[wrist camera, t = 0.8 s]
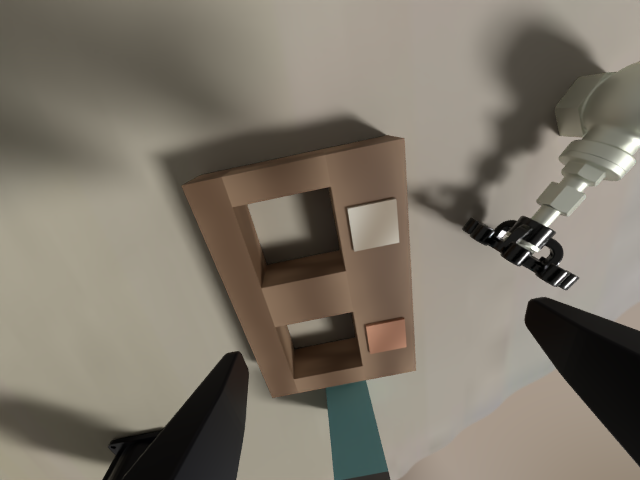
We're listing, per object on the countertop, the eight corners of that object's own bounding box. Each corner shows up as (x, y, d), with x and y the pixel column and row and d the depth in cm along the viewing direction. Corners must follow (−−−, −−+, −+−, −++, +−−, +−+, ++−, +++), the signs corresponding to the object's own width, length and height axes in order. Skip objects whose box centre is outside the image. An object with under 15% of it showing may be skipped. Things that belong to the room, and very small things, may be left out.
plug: (332, 410, 27) (343, 514, 20) (325, 385, 26) (335, 490, 18) (369, 403, 27) (394, 505, 20) (365, 378, 26) (390, 479, 18)
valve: (573, 41, 15) (444, 219, 19) (756, -13, 9) (509, 264, 13) (641, 100, 16) (508, 252, 21) (836, 89, 10) (593, 306, 15)
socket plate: (275, 366, 24) (272, 400, 21) (201, 174, 16) (179, 186, 14) (403, 341, 24) (417, 372, 21) (387, 135, 16) (405, 138, 13)
